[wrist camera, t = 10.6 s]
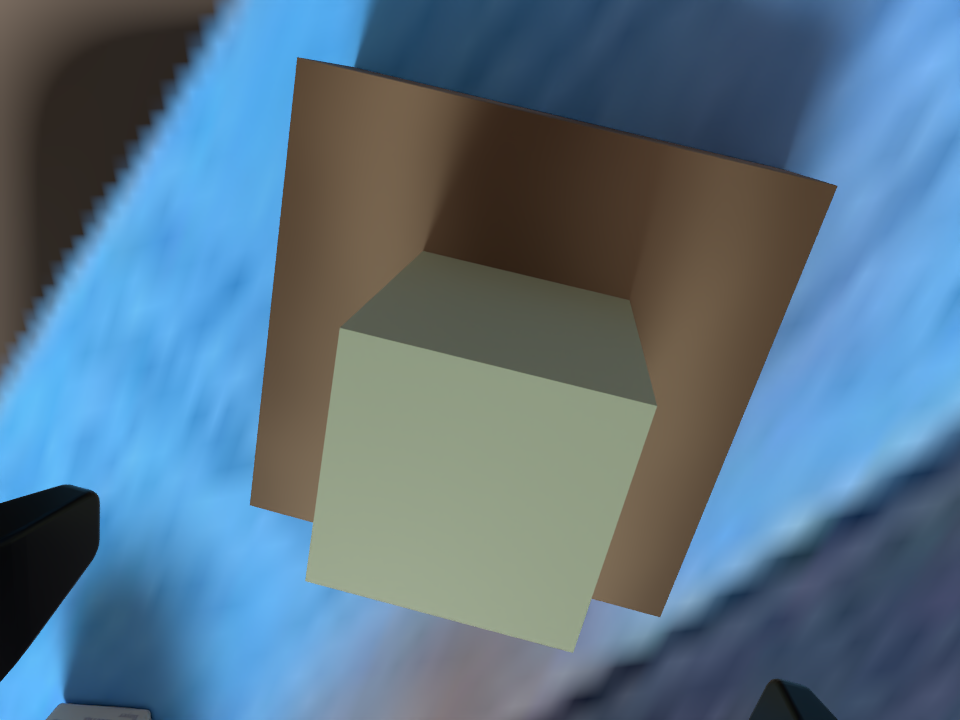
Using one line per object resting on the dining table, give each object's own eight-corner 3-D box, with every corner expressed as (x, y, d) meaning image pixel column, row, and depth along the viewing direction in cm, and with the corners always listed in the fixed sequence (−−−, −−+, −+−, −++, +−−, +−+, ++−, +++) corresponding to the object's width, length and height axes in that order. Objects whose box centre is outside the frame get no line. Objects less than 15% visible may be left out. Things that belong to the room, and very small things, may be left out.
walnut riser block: (784, 169, 18) (837, 185, 14) (646, 532, 22) (660, 617, 19) (353, 66, 19) (297, 57, 15) (303, 440, 23) (249, 505, 19)
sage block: (629, 300, 16) (657, 405, 10) (574, 480, 18) (572, 652, 12) (422, 250, 16) (339, 327, 10) (390, 433, 18) (305, 580, 12)
